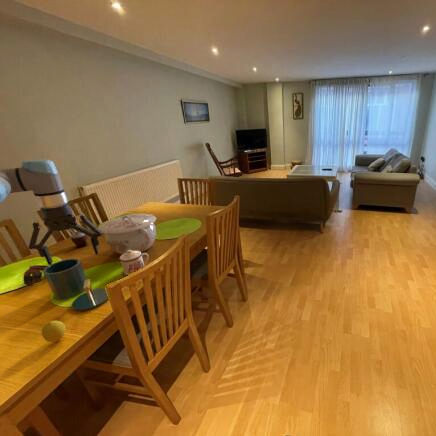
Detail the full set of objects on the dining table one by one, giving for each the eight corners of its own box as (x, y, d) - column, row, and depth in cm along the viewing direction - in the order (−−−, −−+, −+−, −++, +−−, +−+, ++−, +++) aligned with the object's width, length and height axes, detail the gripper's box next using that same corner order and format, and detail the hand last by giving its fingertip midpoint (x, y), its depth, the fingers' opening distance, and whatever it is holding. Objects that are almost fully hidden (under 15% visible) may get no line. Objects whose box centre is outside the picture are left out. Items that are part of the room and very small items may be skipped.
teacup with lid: (129, 278, 112) (122, 257, 108) (120, 272, 117) (114, 251, 113) (155, 267, 121) (149, 246, 117) (146, 261, 126) (140, 242, 122)
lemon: (63, 331, 84) (55, 313, 81) (73, 336, 82) (64, 318, 79) (43, 343, 80) (33, 325, 77) (53, 349, 78) (43, 331, 75)
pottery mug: (21, 282, 111) (26, 264, 112) (49, 282, 118) (54, 265, 119) (21, 287, 103) (26, 268, 104) (51, 286, 110) (56, 268, 111)
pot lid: (70, 316, 91) (62, 298, 88) (75, 297, 101) (68, 280, 98) (111, 303, 97) (105, 286, 94) (112, 286, 107) (106, 270, 104)
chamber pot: (116, 241, 147) (106, 210, 139) (165, 235, 155) (158, 205, 147) (98, 266, 122) (84, 229, 114) (157, 257, 130) (148, 222, 122)
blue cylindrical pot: (52, 303, 98) (39, 277, 93) (57, 287, 106) (46, 263, 102) (88, 292, 103) (78, 268, 99) (90, 279, 112) (81, 255, 108)
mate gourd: (92, 242, 146) (84, 220, 140) (80, 249, 139) (71, 225, 133) (81, 242, 147) (72, 219, 141) (69, 248, 139) (59, 225, 134)
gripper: (99, 197, 93) (114, 245, 100) (6, 208, 80) (32, 263, 88) (98, 202, 87) (114, 253, 95) (-3, 215, 74) (25, 273, 82)
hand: (74, 258), depth 91 cm, fingers open, 13 cm apart
